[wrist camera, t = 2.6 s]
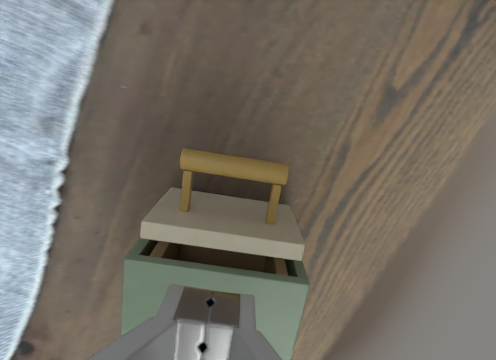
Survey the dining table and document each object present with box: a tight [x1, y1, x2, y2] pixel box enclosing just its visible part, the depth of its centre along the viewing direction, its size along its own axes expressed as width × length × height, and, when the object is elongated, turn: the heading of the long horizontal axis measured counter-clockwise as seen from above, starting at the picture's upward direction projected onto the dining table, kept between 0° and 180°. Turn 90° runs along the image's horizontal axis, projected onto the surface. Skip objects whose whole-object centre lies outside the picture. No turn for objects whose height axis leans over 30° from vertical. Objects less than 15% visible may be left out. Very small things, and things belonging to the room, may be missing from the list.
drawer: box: [140, 148, 305, 276], centre depth 21 cm, size 16×10×7 cm, turn 171°
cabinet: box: [121, 238, 310, 360], centre depth 23 cm, size 12×11×8 cm
